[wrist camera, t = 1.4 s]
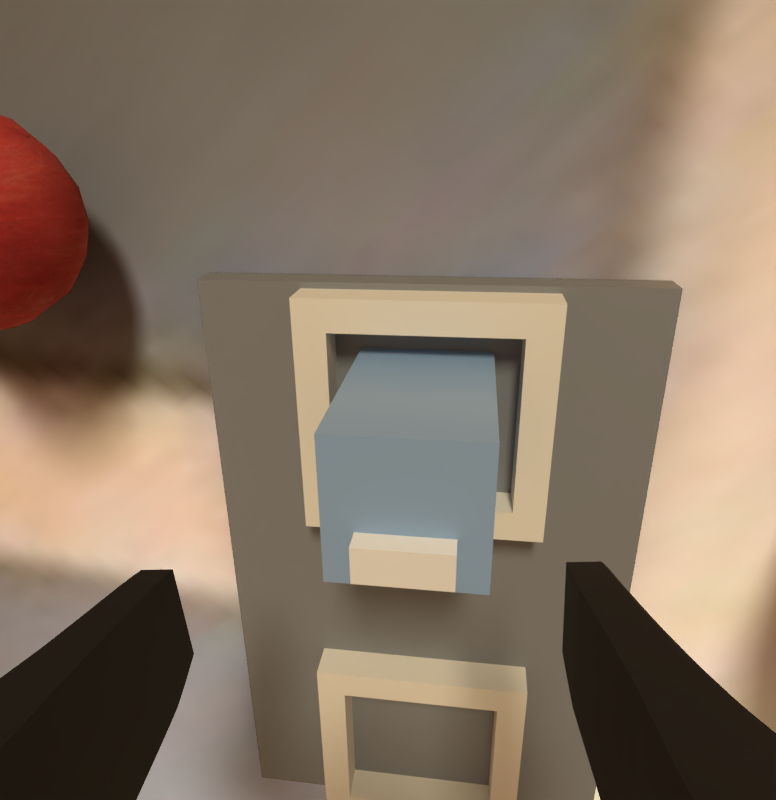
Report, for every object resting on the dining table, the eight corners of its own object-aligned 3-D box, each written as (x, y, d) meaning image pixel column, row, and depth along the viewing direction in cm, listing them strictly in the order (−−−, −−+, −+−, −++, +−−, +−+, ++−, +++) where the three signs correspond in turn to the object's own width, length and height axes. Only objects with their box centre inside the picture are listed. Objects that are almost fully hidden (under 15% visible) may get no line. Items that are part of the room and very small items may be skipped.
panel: (672, 280, 18) (696, 299, 16) (586, 794, 27) (595, 848, 25) (210, 272, 20) (179, 288, 18) (269, 756, 29) (253, 803, 27)
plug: (494, 351, 19) (500, 456, 13) (487, 469, 20) (489, 613, 14) (361, 347, 19) (306, 446, 13) (364, 462, 21) (317, 598, 15)
